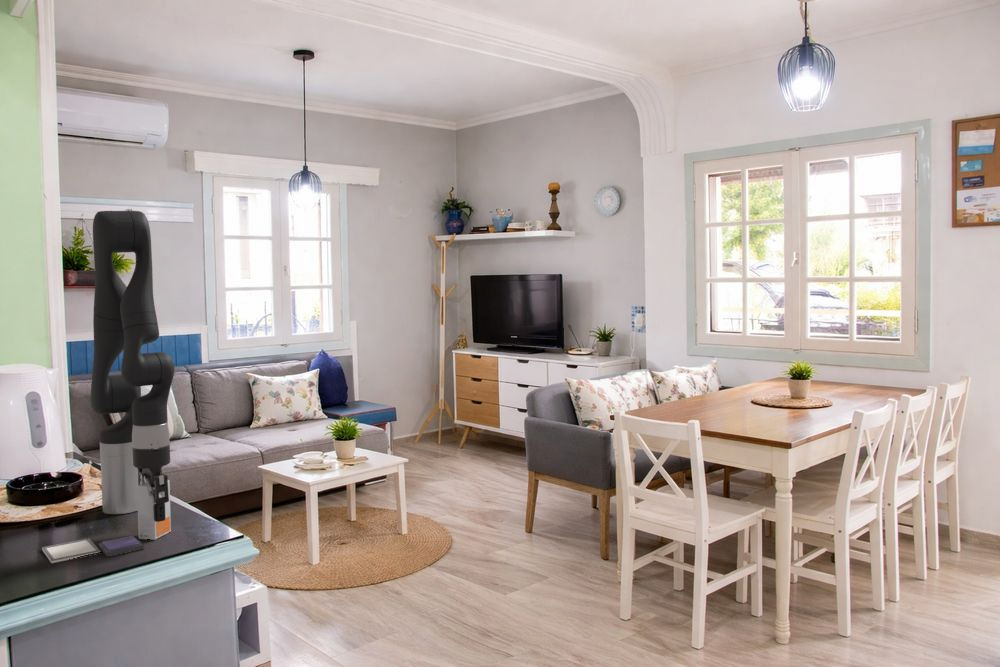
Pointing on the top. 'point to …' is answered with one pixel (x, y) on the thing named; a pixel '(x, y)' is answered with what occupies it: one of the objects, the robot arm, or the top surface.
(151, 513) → the skincare box
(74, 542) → the framed whiteboard
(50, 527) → the top surface
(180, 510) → the top surface
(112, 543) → the ink pad
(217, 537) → the top surface
